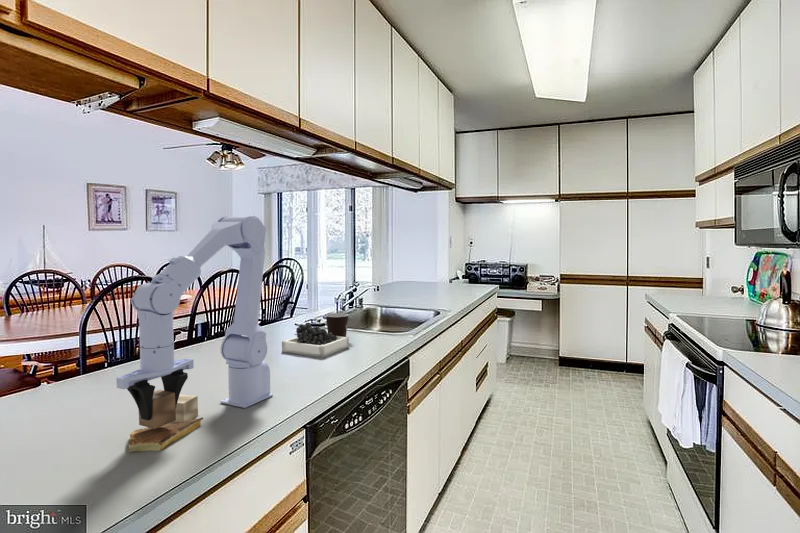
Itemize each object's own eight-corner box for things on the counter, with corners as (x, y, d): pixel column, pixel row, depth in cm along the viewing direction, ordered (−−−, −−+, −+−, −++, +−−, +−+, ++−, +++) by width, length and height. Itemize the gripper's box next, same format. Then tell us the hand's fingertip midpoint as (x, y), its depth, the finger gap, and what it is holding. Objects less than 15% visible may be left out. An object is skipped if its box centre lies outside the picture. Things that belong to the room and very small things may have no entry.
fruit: (336, 319, 158) (294, 320, 154) (340, 330, 151) (295, 332, 147) (334, 339, 161) (293, 341, 157) (338, 352, 154) (294, 354, 150)
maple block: (179, 414, 96) (179, 394, 96) (198, 415, 96) (197, 395, 95) (165, 422, 92) (164, 401, 92) (184, 424, 91) (183, 403, 91)
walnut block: (160, 416, 88) (159, 389, 88) (175, 420, 86) (174, 392, 86) (139, 424, 84) (138, 396, 84) (154, 429, 82) (153, 400, 82)
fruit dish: (310, 342, 165) (310, 332, 165) (348, 347, 158) (348, 337, 157) (282, 351, 151) (281, 341, 151) (322, 357, 143) (322, 346, 143)
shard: (203, 425, 91) (203, 415, 91) (208, 443, 83) (208, 432, 83) (130, 439, 85) (130, 428, 85) (128, 460, 77) (127, 448, 77)
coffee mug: (341, 344, 162) (341, 317, 161) (321, 342, 165) (321, 316, 165) (355, 337, 173) (355, 312, 172) (336, 336, 176) (336, 311, 175)
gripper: (176, 335, 92) (178, 398, 93) (105, 351, 79) (107, 424, 80) (200, 339, 89) (201, 404, 90) (129, 355, 76) (131, 431, 77)
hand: (158, 414), depth 85 cm, fingers closed on walnut block, 4 cm apart
